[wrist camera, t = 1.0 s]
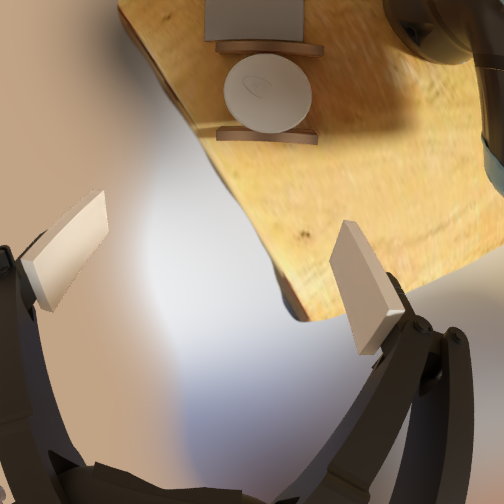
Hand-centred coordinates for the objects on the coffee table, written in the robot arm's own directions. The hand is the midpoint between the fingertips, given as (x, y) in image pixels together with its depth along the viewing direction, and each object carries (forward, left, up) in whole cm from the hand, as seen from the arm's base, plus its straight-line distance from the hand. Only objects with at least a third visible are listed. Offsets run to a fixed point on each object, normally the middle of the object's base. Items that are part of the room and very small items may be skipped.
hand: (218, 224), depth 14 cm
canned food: (-2, -6, -24) cm, 25 cm away
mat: (0, -19, -24) cm, 30 cm away
